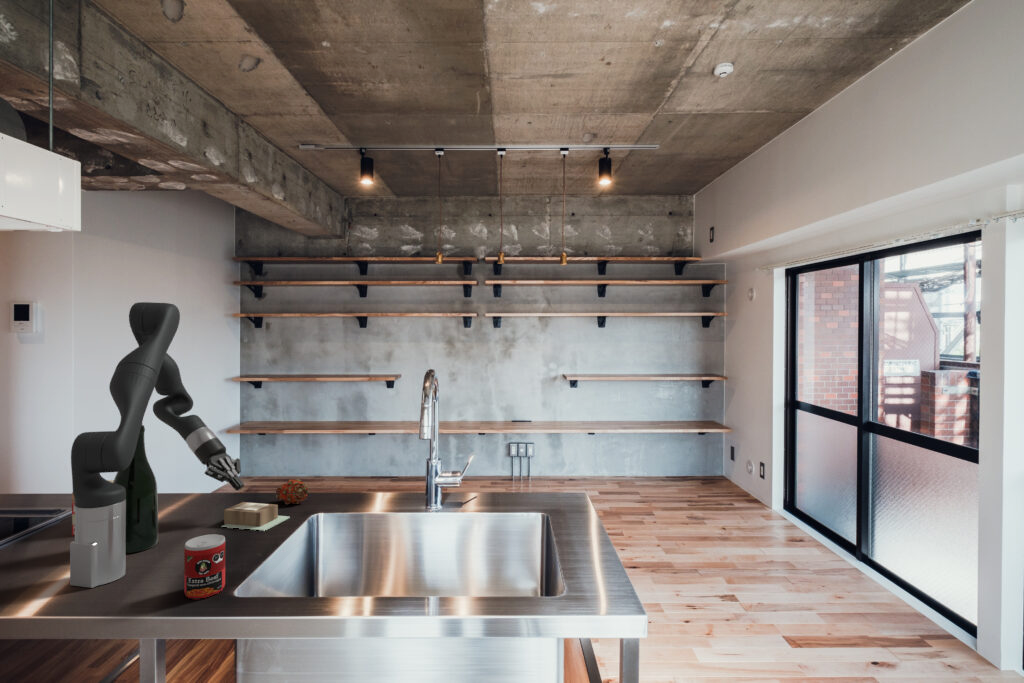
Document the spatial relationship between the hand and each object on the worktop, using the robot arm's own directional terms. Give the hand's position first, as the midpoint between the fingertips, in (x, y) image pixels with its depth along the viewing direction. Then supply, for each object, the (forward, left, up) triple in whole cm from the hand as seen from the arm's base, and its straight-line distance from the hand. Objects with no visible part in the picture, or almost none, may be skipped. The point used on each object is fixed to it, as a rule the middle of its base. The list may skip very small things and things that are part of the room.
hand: (240, 488), depth 163 cm
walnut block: (0, +2, -7) cm, 8 cm away
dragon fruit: (+20, -4, -10) cm, 22 cm away
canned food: (-41, -24, -10) cm, 49 cm away
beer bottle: (-24, +13, -10) cm, 29 cm away
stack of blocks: (-10, +38, -10) cm, 40 cm away
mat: (0, -5, -10) cm, 11 cm away
